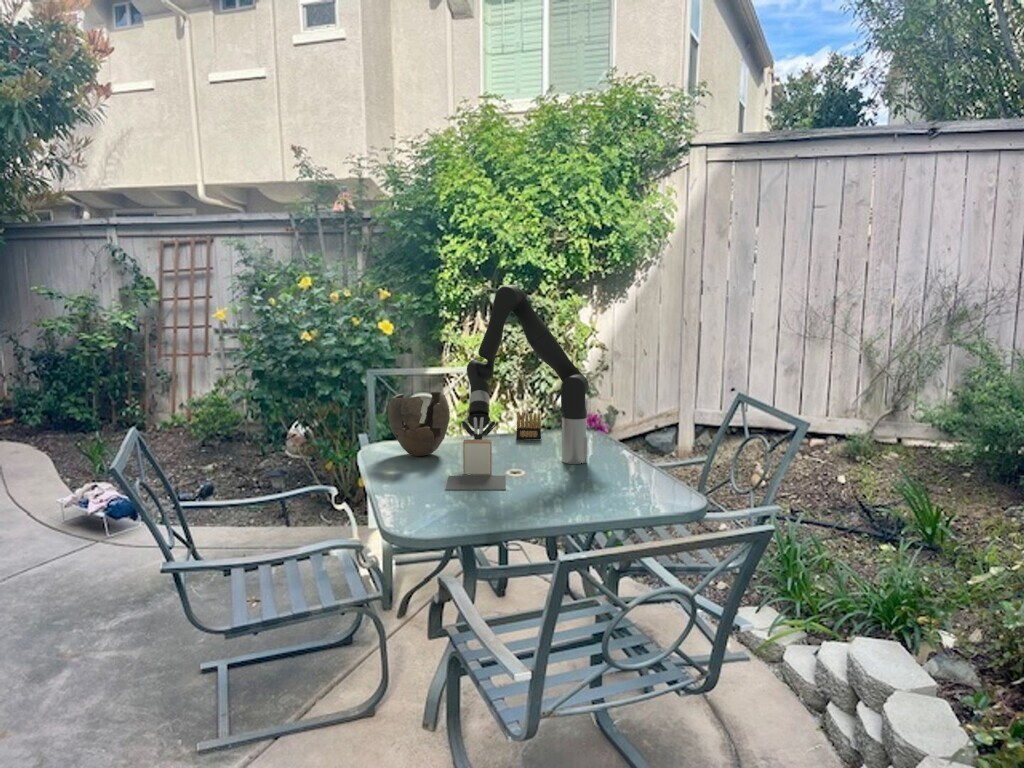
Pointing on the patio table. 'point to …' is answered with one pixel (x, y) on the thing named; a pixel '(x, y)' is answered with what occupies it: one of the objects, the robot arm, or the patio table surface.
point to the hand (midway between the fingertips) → (478, 444)
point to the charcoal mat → (476, 483)
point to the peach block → (477, 456)
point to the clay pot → (415, 434)
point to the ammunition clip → (528, 427)
